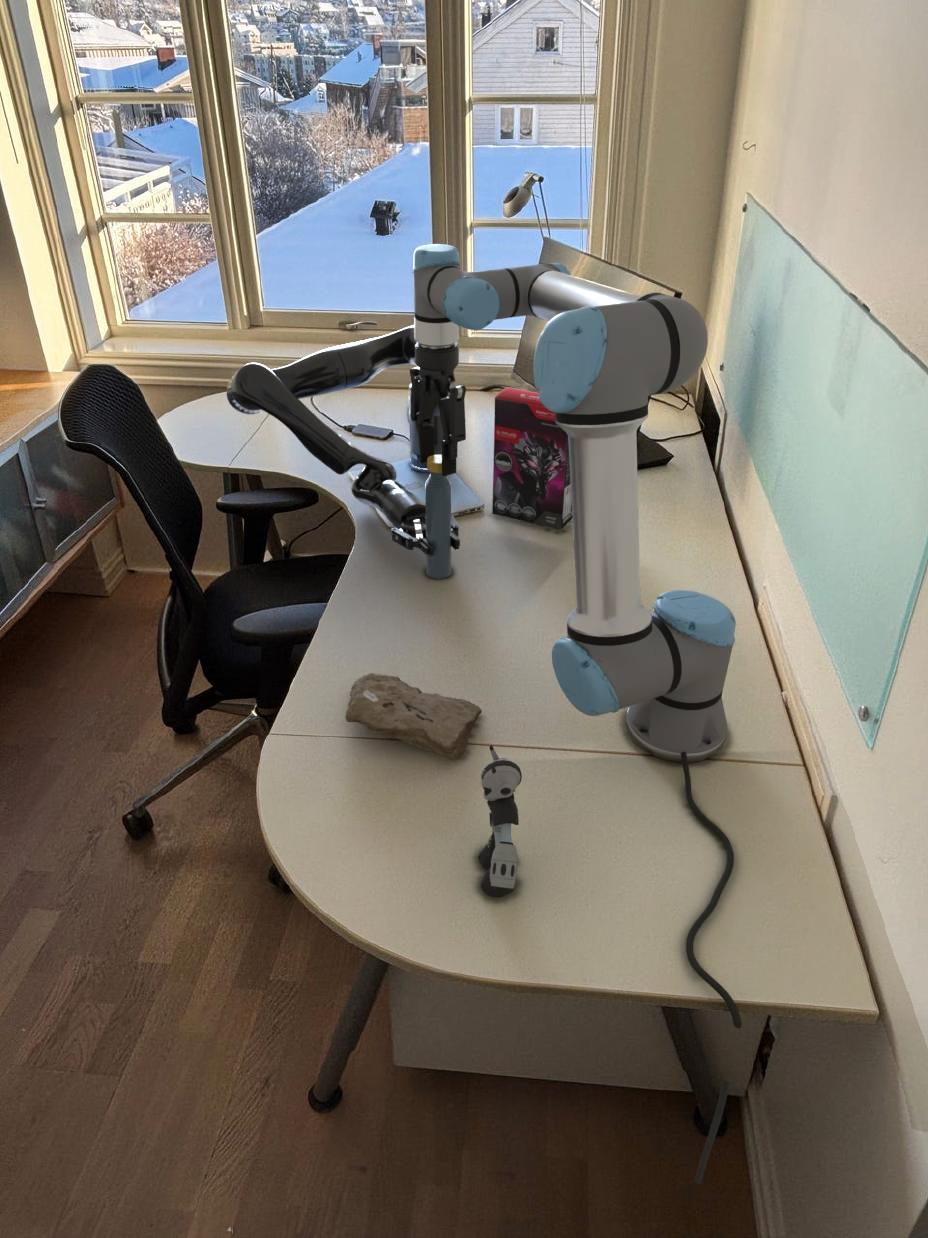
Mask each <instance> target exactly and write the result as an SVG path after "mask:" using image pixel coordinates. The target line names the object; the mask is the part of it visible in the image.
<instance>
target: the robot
mask: <svg viewBox="0 0 928 1238" xmlns="http://www.w3.org/2000/svg"><path fill="white" fill-rule="evenodd" d="M489 751H490V754H491V756H492V757H491V758H492V761H491V762H489V763H488V764H487V765H486V766H485V767H484V768H483V769H482V771H481V773H480V779H481V782H480V784H481V788H482V789H483V798H484V799H485V800H486V805H487V806H488V809H489V811H490V812H489V814H488V815H489V816H488V817H489V827H491V829H492V831H491V833H492V834H490V837H489V838H488V842H487V843H486V844H485V846H484V847H483V848H482V850H481V851H480V853H479V855H477V858H478V861H479V862H480V864H481V866H482V867H484V868H485V869H487V870H486V871H485V873H484V875H483V877H482V880H481V884H480V889H482V891H484V893H485V894H486V895H487V896H491V897H495V898H498V897H503V896H505V895H507V894H509V893H511V892H513V891H514V888H515V884H516V881H517V872H518V867H519V855H518V851H517V846H516V845H515V844H514V843H513V840H512V825H515V826H519V825H520V823H519V822H520V820H519V809H518V805H517V803H516V801H515V793H514V792H516V789H517V787H518V786H519V785H520V784H521V783H522V779H523V774H522V770H521V768H520V766H519V765H518V764H517V763H516V762H514V761H512V760H511V759H507V758H506V757H501V758H500V756H499V755H498V753H497V751H496V750H495V748H494V745H493V744H490V745H489Z"/></svg>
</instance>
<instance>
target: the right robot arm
mask: <svg viewBox="0 0 928 1238" xmlns="http://www.w3.org/2000/svg"><path fill="white" fill-rule="evenodd" d="M412 264H413V266H412V270H411V271H412V281H413V282H412V283H413V311H414V315H413V321H414V322H413V325H414V339H415V341H416V342H417V343H416V345H415V363H416V365H417V366H418V367H417V366H416V365H415V366H416V367H413V368H412V367H411V368H410V369H409V377H410V382H411V383H410V384H411V420H412V421H415V422H416V425H417V427H418V428H419V443H420V463H422V464H423V463H426V462H427V458H428V457H429V456H432V455H434V427H432V426H430V427H429V425H432V424H434V422H433V421H432V415H433V411H434V406H435V403H436V404H437V405H438V407H439V412H440V417H441V422H442V428H443V433H444V438H445V440H443V441H442V476H444V477H445V476H447V477H448V476H450V475H451V476H452V475H454V474H457V459H458V445H459V444H458V443H460V442H463V441H466V439H467V431H466V408H465V404H466V403H465V397H466V393H467V388H466V385H464V384H463V385H459V384H458V383H457V382H456V377H455V373H454V372H455V369H456V368H457V367H458V365H459V362H460V345H459V343H458V341H459V339H460V337H459V336H460V334H459V331H460V329H459V327H462V328H463V329H467V330H470V331H481V330H484V329H485V328H487V327H488V326H489V325H490V324H492V323H493V322H494V321H497V320H502V319H509V318H510V319H511V318H517V317H526V316H530V317H531V316H532V317H535V318H537V319H539V320H542V321H546V322H547V323H546V324H545V326H544V328H543V330H542V331H541V333H540V335H539V337H538V340H537V343H536V347H535V349H534V357H533V381H534V386H535V390H536V391H538V393H539V399H540V400H541V402H542V404H543V405H544V406H545V407H546V408H547V409H548V410H550V411H552V412H555V421H556V424H557V425H559V426H560V427H561V428H562V429H563V430H564V431H565V432H566V433H567V434H568V441H569V461H570V480H571V500H572V537H573V539H572V540H573V554H574V555H573V556H574V557H573V558H574V577H575V593H576V594H575V595H576V607H575V608H574V609H573V610H572V611H570V613H569V614H568V615H567V617H566V635H567V636H566V637H561V638H559V639H558V640H557V641H555V643H554V644H553V646H552V649H551V664H552V668H553V672H554V675H555V678H556V680H557V683H558V685H559V687H560V689H561V691H562V692H563V694H564V696H565V697H566V699H567V700H568V701H569V703H570V704H571V705H572V706H573V707H574V708H575V709H576V710H577V711H579V712H580V713H582V714H584V715H586V716H589V717H598V716H603V715H606V714H609V713H613V714H615V713H618V712H619V711H620V710H622V709H627V711H626V719H625V728H626V732H627V734H628V736H629V738H630V739H631V741H632V742H634V744H636V745H637V746H638V747H639V748H640V749H641V750H643V751H645V752H646V753H648V754H650V755H651V756H654V757H656V758H659V759H662V760H666V761H670V762H675V763H681V764H682V769H683V777H684V791H685V792H684V793H685V797H686V801H687V803H688V806H689V807H690V809H691V811H692V812H693V814H694V815H695V816H696V818H698V819H699V820H700V821H701V822H702V823H703V824H704V825H706V826H707V827H708V829H710V830H711V831H712V832H713V833H714V834H715V835H717V837H718V838H719V839H720V840H721V842H722V844H723V845H724V848H725V850H726V865H725V869H724V871H723V873H722V875H721V878H720V880H719V881H718V883H717V885H716V887H715V889H714V891H713V894H712V896H711V898H710V900H709V903H708V904H707V905H706V907H705V909H704V910H703V911H702V912H701V914H700V915H699V916H698V917H697V919H695V921H694V922H693V924H692V925H691V927H690V928H689V930H688V933H687V935H686V939H685V941H686V942H685V951H686V956H687V961H688V962H689V964H690V966H691V969H693V970H694V972H695V973H696V974H697V975H698V976H699V977H700V978H701V979H702V980H703V981H704V982H705V983H706V984H707V985H709V986H710V988H712V989H713V990H714V991H715V992H716V993H717V994H718V995H719V996H720V997H721V998H722V1000H723V1001H724V1002H725V1004H726V1006H727V1008H728V1010H729V1012H730V1015H731V1018H732V1023H733V1025H734V1027H735V1028H736V1029H741V1028H742V1026H743V1025H742V1018H741V1015H740V1012H739V1009H738V1006H737V1004H736V1003H735V1001H734V999H733V998H732V996H731V995H730V994H729V992H728V991H727V990H726V989H725V987H723V986H722V985H721V983H719V982H718V981H717V980H716V979H715V978H714V977H712V976H711V975H710V974H709V973H708V972H707V971H706V970H705V969H704V968H703V967H702V966H701V965H700V963H699V961H698V960H697V958H696V956H695V951H694V942H695V938H696V936H697V934H698V931H699V930H700V928H702V925H704V923H705V922H706V921H707V919H709V917H710V916H711V914H712V913H713V912H714V910H715V908H716V906H717V905H718V902H719V901H720V898H721V895H722V894H723V891H724V890H725V887H726V886H727V883H728V881H729V879H730V877H731V875H732V873H733V869H734V865H735V855H734V850H733V845H732V844H731V841H730V839H729V838H728V836H727V835H726V834H725V833H724V832H723V830H722V829H721V828H720V827H718V825H716V824H715V823H714V822H713V821H711V819H710V818H708V817H707V815H705V814H704V813H703V812H702V810H700V808H699V807H698V806H697V804H696V802H695V800H694V797H693V793H692V778H691V771H690V766H689V763H694V762H700V761H703V760H706V759H709V758H711V757H714V755H716V754H718V752H720V751H721V750H722V748H723V747H724V744H725V743H726V740H727V739H726V738H727V734H728V721H727V716H726V712H725V708H724V707H725V706H724V701H723V692H724V686H725V682H726V678H727V674H728V669H729V664H730V661H731V655H732V652H733V647H734V644H735V642H736V641H735V640H736V637H735V632H736V627H737V626H736V625H737V624H736V617H735V615H734V614H733V612H732V610H731V609H730V608H729V607H728V606H727V605H726V604H724V603H723V602H722V601H720V600H719V599H717V598H715V597H712V596H710V595H708V594H705V593H702V592H698V591H695V590H688V589H673V590H668V591H665V592H662V593H660V594H659V595H658V596H657V597H656V600H655V602H654V604H653V607H652V608H653V612H650V610H649V609H647V608H646V607H645V606H644V605H642V604H641V576H640V575H641V570H640V568H641V567H640V566H641V565H640V532H639V531H640V529H639V528H640V527H639V526H640V525H639V489H638V488H639V487H638V486H639V485H638V483H639V482H638V481H639V480H638V446H637V445H638V443H637V441H638V440H637V437H638V436H637V430H638V429H639V428H640V426H641V425H643V423H644V422H645V421H646V419H647V418H648V417H649V397H650V396H656V395H660V394H664V393H669V392H671V391H673V390H676V389H678V388H680V387H682V386H683V385H684V384H686V383H687V382H689V381H690V380H691V379H692V378H693V377H694V375H695V374H696V373H697V372H698V370H699V369H700V367H701V366H702V364H703V362H704V361H705V357H706V354H707V350H708V345H709V337H708V336H709V335H708V334H709V333H708V328H707V324H706V322H705V320H704V318H703V316H702V315H701V313H700V311H699V310H698V309H697V308H696V307H695V306H694V305H693V304H691V303H690V302H689V301H687V300H685V299H683V298H679V297H676V296H672V295H669V294H665V293H661V292H655V291H654V292H648V293H645V294H643V295H639V294H635V293H633V292H629V291H626V290H623V289H618V288H616V287H613V286H612V287H611V286H608V285H605V284H601V283H598V282H595V281H591V280H587V279H585V278H581V277H577V276H574V275H572V273H571V271H570V270H568V268H567V266H566V265H565V264H563V263H559V262H553V263H551V262H540V263H537V264H532V265H522V266H516V267H515V266H514V267H505V268H504V267H503V268H496V269H495V268H494V269H485V270H476V271H466V270H464V269H462V268H460V266H461V261H460V253H459V249H458V248H457V247H456V246H454V245H451V244H442V243H432V244H424V245H421V246H418V247H417V248H415V250H414V252H413V262H412ZM447 396H448V397H447ZM443 397H447V398H444V399H441V398H443ZM417 412H418V414H417ZM730 1085H731V1081H727V1080H725V1079H723V1080H722V1081H721V1086H720V1089H719V1090H720V1091H719V1094H718V1099H717V1103H716V1107H715V1110H714V1114H713V1118H712V1121H711V1124H710V1127H709V1131H708V1134H707V1137H706V1141H705V1143H704V1147H703V1150H702V1153H701V1156H700V1159H699V1163H698V1166H697V1169H696V1173H695V1177H694V1183H695V1184H697V1185H700V1184H702V1182H703V1181H702V1180H703V1177H704V1174H705V1170H706V1167H707V1163H708V1160H709V1157H710V1154H711V1151H712V1148H713V1145H714V1143H715V1140H716V1136H717V1133H718V1130H719V1127H720V1124H721V1121H722V1117H723V1114H724V1110H725V1106H726V1103H727V1098H728V1094H729V1090H730Z"/></svg>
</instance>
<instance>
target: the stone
mask: <svg viewBox="0 0 928 1238" xmlns="http://www.w3.org/2000/svg"><path fill="white" fill-rule="evenodd" d="M349 697H350V698H349V701H348V704H347V706H348V707H347V709H346V712H345V717H344V718H345V721H346V722H347V723H349V724H350V723H359V724H361V725H364V726H365V727H366V729H367V730H368V731H370V732H372V733H377V734H382V736H383V737H387V738H390V739H391V738H392V739H398V740H399V741H401V742H404V743H406V744H410V745H413V746H416V747H418V748H420V749H422V750H424V751H426V752H428V753H437V754H440V755H442V756H444V757H445V758H447V759H449V760H452V761H456V760H458V759H460V758H462V756H463V755H464V752H465V750H466V748H467V745H468V744H469V736H470V734H471V732H472V730H473V728H474V726H475V723H476V722H477V720H478V718H479V716H480V715H481V714H482V711H483V709H482V708H481V707H480V706H478V705H476V704H475V703H473V702H472V701H470V700H466V699H464V698H456V697H449V696H444V695H441V694H439V693H429V692H423V691H422V690H421V689H420V688H419V687H417V686H415V687H414V686H410V685H409V684H408V683H407V682H406V681H403V680H401V677H399V676H394V675H389V674H379V673H377V674H376V673H374V672H373V673H372V672H370V673H368V674H366V675H363V676H362V677H359V678H358V679H356V680H355V681H354V682H353V684H352V685H351V690H350V692H349Z"/></svg>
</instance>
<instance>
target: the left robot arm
mask: <svg viewBox="0 0 928 1238" xmlns="http://www.w3.org/2000/svg"><path fill="white" fill-rule="evenodd" d="M416 343H417V342H416V341H415V339H414V324H413V325H410V326H407V327H404V328H402V329H399V330H397V331H393V332H391V333H389V334H385V335H382V336H378V337H373V338H368V339H365V340H359V341H356V342H355V341H354V342H349V343H345V344H344V343H343V344H341V345H336V346H332V347H327V348H325V349H322V350H319V351H317V352H314V353H312V354H309V355H307V356H305V357H303V358H301V359H299V360H296V361H294V362H292V363H290V364H288V365H284V366H281V367H278V368H277V367H276V368H271V369H270V368H269V367H267V366H266V365H264V364H261V363H258V362H248V363H246V364H244V365H242V366H241V367H240V368H238V370H236V372H235V374H234V375H233V376H232V377H231V379H230V380H229V382H228V383H227V387H226V399H227V402H228V404H229V405H230V407H231V408H232V409H234V410H235V411H236V412H238V413H241V414H243V415H249V416H255V415H259V414H262V413H264V412H265V413H266V414H268V415H270V416H272V417H273V418H275V419H276V420H278V421H279V422H280V423H281V424H283V425H284V426H285V427H286V428H287V429H288V430H289V431H290V432H291V433H292V434H293V435H294V436H295V438H296V439H297V440H298V441H299V442H300V444H301V445H302V446H303V447H304V448H305V450H307V452H309V453H310V455H312V456H313V457H314V458H315V459H317V460H318V461H319V462H320V463H322V464H323V465H324V466H326V467H327V468H328V469H330V470H331V471H332V472H334V473H335V474H337V475H340V476H342V475H345V474H346V473H348V472H349V471H350V470H352V468H354V467H355V466H357V465H364V467H363V468H362V469H361V470H360V472H359V473H358V475H357V476H356V477H355V478H354V480H352V483H351V486H350V491H351V494H352V496H353V498H355V500H357V501H358V502H360V503H361V504H364V505H367V506H368V507H371V508H376V509H378V511H380V512H381V513H382V514H383V515H384V516H385V518H386V520H388V522H389V523H390V524H391V525H392V526H393V527H391V529H390V530H391V531H390V532H391V541H392V542H394V543H395V544H397V545H398V546H401V547H402V548H403V549H406V550H407V551H413V550H414V549H415V548H416V549H417V550H420V551H421V552H422V553H423V554H424V555H425V556H426V555H429V556H430V557H431V556H434V547H433V545H432V544H431V543H430V542H428V541H427V540H426V510H425V503H424V502H423V501H422V500H421V499H420V498H419V497H418V496H416V494H414V493H413V492H411V491H409V490H407V489H406V488H405V487H404V486H403V485H402V484H401V483H400V482H398V481H397V477H398V476H397V475H398V474H397V471H396V469H395V467H394V466H393V465H392V464H391V462H389V461H387V460H385V459H382V458H380V457H378V456H375V455H372V454H370V453H368V452H366V451H364V450H361V449H360V448H358V446H357V447H356V446H355V445H353V444H352V443H351V442H350V441H348V439H346V438H345V437H343V436H342V435H341V434H339V433H338V432H337V431H336V430H334V429H333V428H332V427H331V426H329V425H328V424H326V422H324V421H323V420H322V419H321V418H319V416H317V415H316V414H315V413H314V412H313V411H311V410H310V408H308V407H307V406H306V405H305V403H304V402H302V401H301V400H302V399H309V398H313V397H318V396H319V397H320V396H323V395H327V394H332V393H339V392H343V391H346V390H349V389H353V388H357V387H360V386H362V385H365V384H366V383H368V382H370V381H371V380H372V379H373V378H375V377H376V376H377V375H378V374H380V373H381V372H383V371H384V370H387V369H389V368H393V367H399V366H403V365H414V366H416V367H418V366H417V365H416V363H415V345H416ZM447 397H448V396H447ZM447 397H443V398H441V399H444V398H447ZM417 414H418V412H417ZM406 415H407V420H408V422H409V456H410V460H409V466H410V468H411V469H412V470H413V471H416V472H420V473H424V474H425V473H426V474H431V472H430V471H429V470H423V469H418V468H415V467H413V466H412V465H411V464H410V462H411V463H412V464H413V465H414V466H417V467H420V468H427V462H426V463H423V464H422V463H420V443H419V428H418V427H417V425H416V422H415V421H412V420H411V383H410V384H409V386H408V403H407V407H406ZM432 421H433V422H434V424H432V425H429V427H430V426H432V427H434V455H442V441H443V440H445V438H444V433H443V428H442V422H441V417H440V412H439V407H438V405H437V404H436V403H435V406H434V411H433V415H432ZM459 529H460V525H459V524H458V522H457V520H456V518H455V516H454V515H453V514H452V513H451V548H452V549H453V550H455V551H457V550H459V549H460V547H461V539H460V537H459V536H460V535H459Z"/></svg>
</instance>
